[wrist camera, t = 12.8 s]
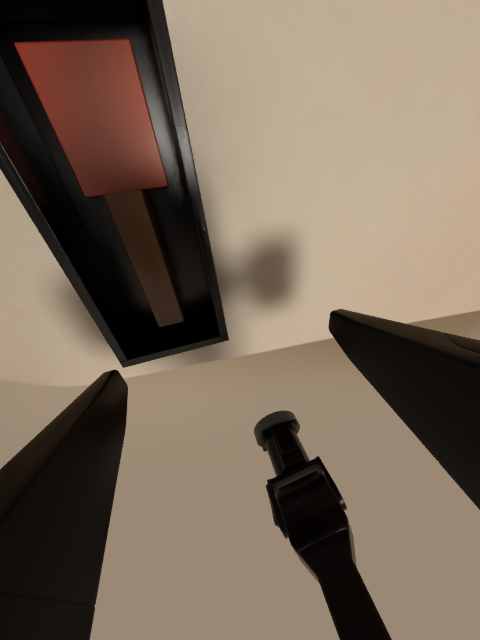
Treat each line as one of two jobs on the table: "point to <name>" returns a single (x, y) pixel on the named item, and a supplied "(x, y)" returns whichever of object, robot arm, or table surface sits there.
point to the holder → (93, 213)
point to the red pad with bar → (109, 146)
